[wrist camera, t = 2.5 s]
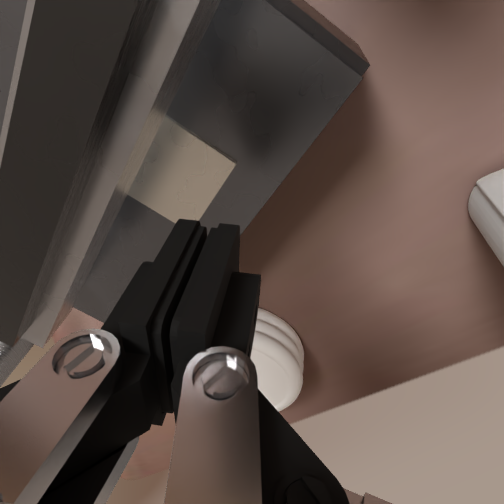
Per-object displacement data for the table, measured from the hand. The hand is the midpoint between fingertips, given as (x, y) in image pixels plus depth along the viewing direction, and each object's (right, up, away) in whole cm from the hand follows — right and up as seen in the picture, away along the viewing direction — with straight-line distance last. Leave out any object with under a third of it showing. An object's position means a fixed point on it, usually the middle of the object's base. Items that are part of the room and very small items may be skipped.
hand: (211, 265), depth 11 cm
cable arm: (-4, +3, +1) cm, 5 cm away
